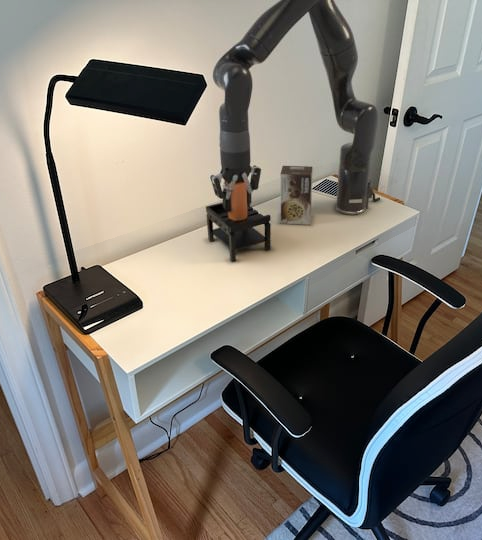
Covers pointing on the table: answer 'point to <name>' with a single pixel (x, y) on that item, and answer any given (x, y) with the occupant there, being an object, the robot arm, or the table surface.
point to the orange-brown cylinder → (238, 201)
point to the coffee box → (296, 194)
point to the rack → (237, 229)
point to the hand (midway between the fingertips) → (237, 207)
